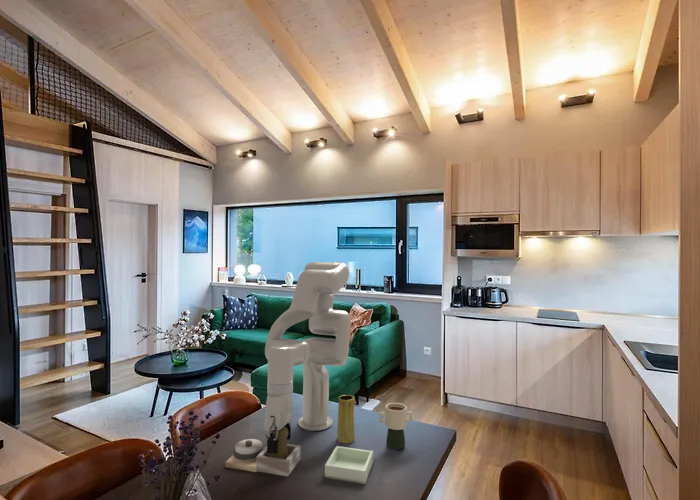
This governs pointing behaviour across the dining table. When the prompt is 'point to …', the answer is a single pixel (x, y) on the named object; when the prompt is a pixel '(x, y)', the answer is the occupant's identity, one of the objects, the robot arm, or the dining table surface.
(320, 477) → the dining table surface
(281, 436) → the cork
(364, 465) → the tray
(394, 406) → the cream green cup
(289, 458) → the desk organizer
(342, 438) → the vase
